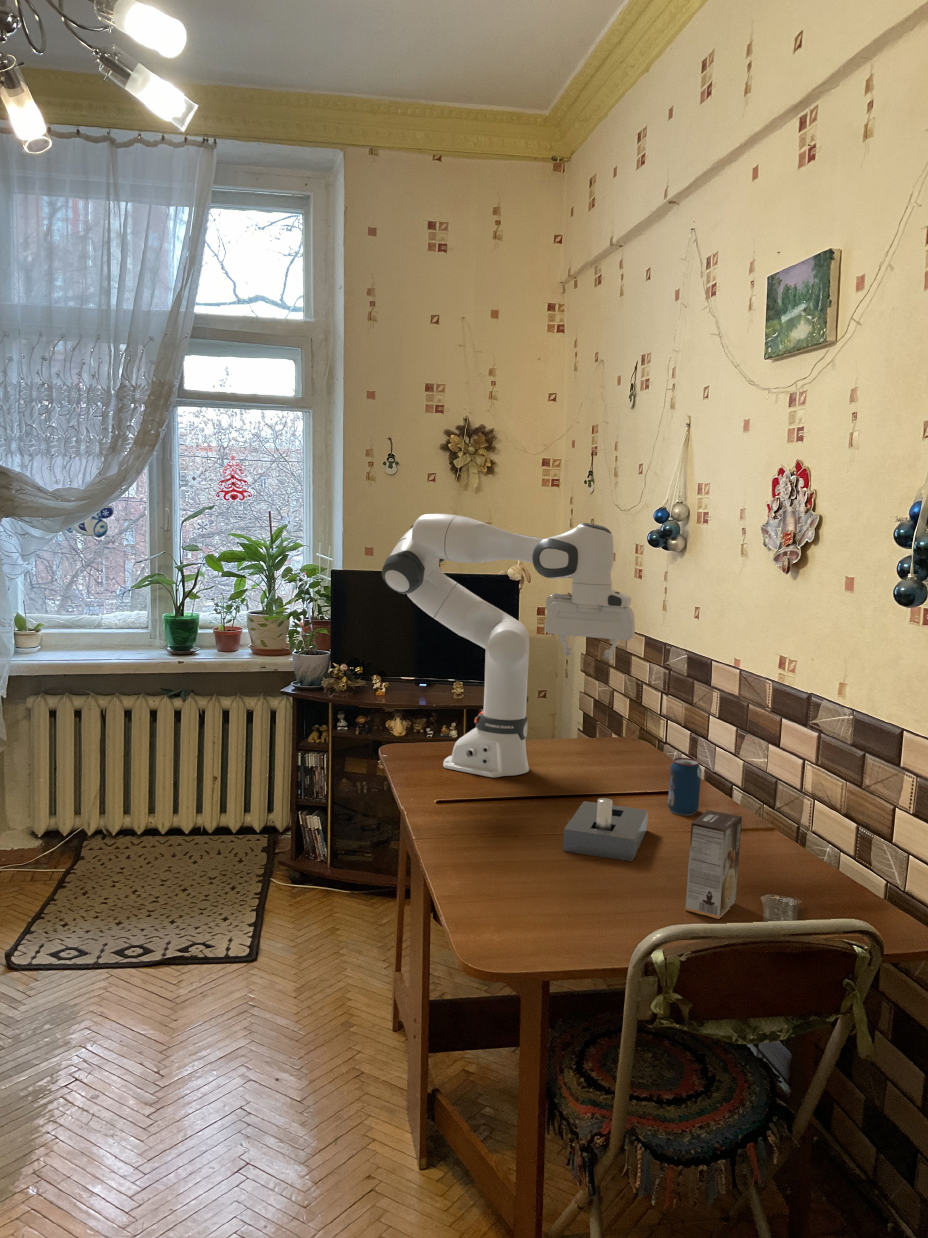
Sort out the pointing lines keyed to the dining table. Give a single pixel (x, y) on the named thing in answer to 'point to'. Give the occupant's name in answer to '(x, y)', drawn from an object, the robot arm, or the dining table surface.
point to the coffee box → (713, 862)
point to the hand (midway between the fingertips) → (587, 656)
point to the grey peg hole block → (606, 832)
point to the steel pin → (604, 814)
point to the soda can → (684, 786)
